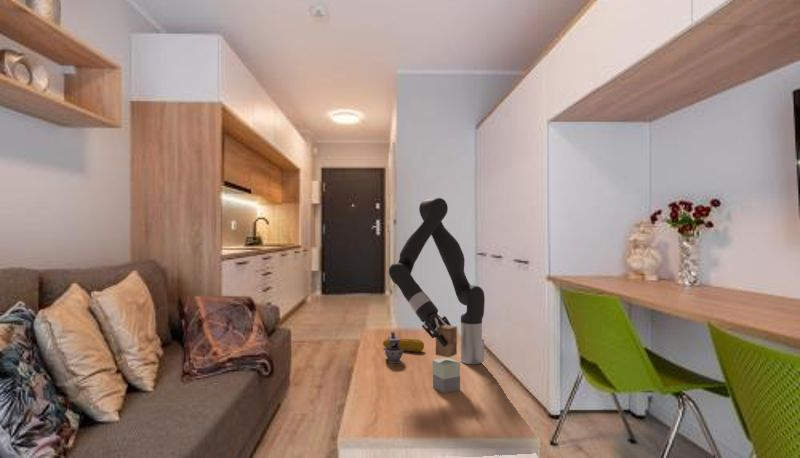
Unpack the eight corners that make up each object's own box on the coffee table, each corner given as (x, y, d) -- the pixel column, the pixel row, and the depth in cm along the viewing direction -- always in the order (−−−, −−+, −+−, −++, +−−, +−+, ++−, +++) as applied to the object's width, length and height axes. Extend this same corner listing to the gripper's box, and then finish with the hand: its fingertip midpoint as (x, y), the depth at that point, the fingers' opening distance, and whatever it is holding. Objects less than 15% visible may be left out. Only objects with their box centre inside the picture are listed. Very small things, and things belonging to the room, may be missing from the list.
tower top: (448, 370, 160) (448, 357, 160) (459, 376, 153) (459, 362, 154) (432, 373, 156) (432, 359, 156) (443, 379, 150) (443, 365, 150)
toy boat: (381, 356, 194) (382, 327, 193) (398, 355, 196) (399, 327, 195) (387, 369, 180) (388, 338, 179) (405, 368, 181) (406, 337, 180)
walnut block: (443, 351, 159) (443, 324, 159) (456, 354, 156) (456, 326, 156) (435, 354, 154) (435, 326, 155) (448, 357, 151) (449, 329, 151)
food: (424, 351, 205) (424, 338, 205) (420, 354, 200) (420, 341, 200) (384, 346, 213) (384, 334, 213) (380, 349, 208) (379, 337, 208)
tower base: (448, 384, 160) (448, 370, 160) (460, 390, 153) (460, 376, 153) (432, 387, 156) (432, 373, 156) (443, 393, 150) (443, 379, 150)
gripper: (418, 302, 154) (446, 341, 147) (439, 298, 166) (466, 333, 158) (406, 315, 157) (433, 354, 150) (427, 310, 169) (454, 345, 161)
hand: (450, 343), depth 154 cm, fingers closed on walnut block, 5 cm apart
